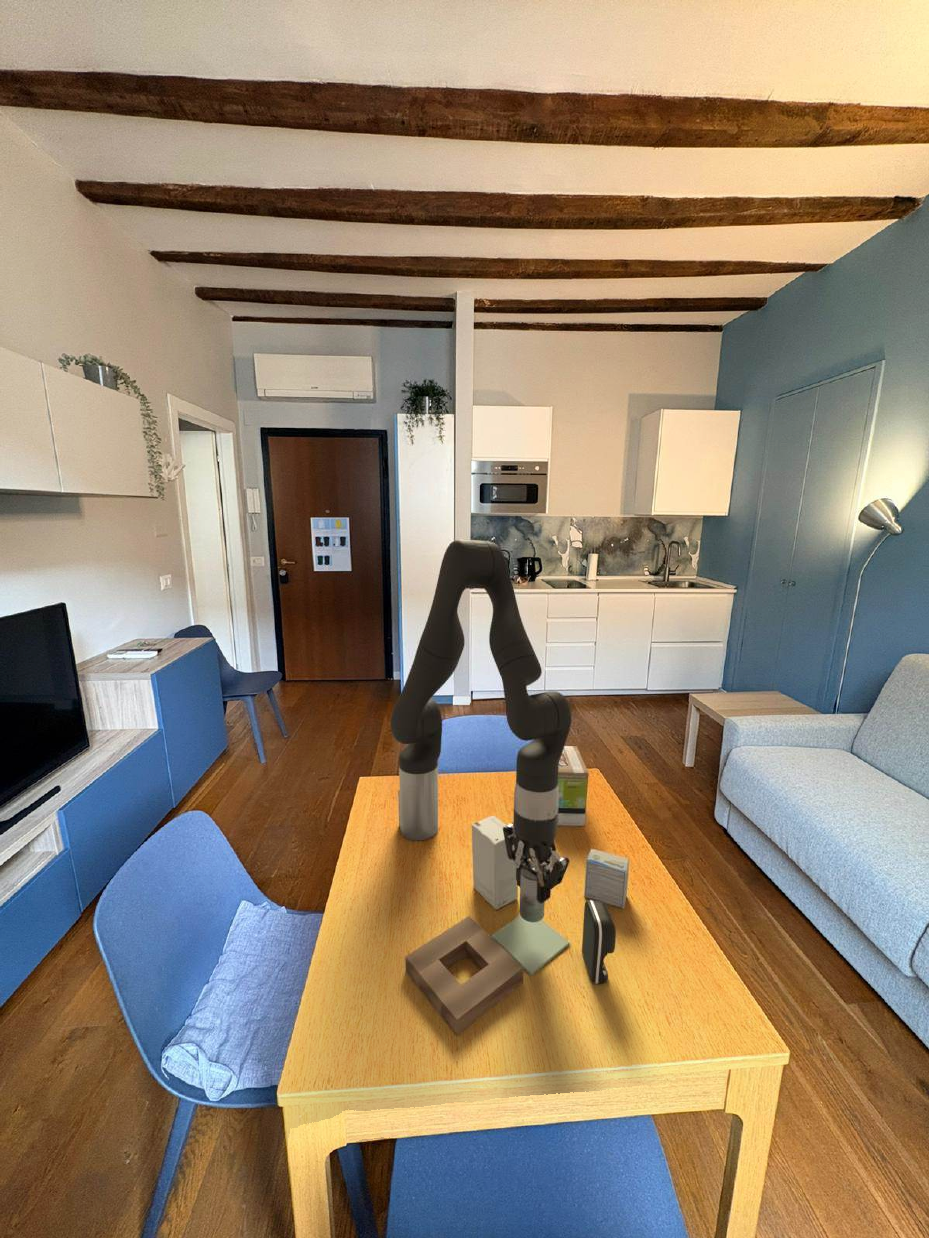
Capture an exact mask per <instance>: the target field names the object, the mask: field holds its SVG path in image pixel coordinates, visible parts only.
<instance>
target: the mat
mask: <svg viewBox="0 0 929 1238" xmlns="http://www.w3.org/2000/svg"><path fill="white" fill-rule="evenodd" d="M490 936H491V937H492V938H493V939H494V940H495V941H496V942H497V943H498V944H499V945H500V946H501V947H502V948H504V949H505V950H506V951H507V952H508V953H509V954H510V955H511V956H512V957H513V958H514V959H515V960H516V961H517V962H518V963H519V964H520V965H521V966H522V967H523V970H524V971H525V972H527V974H529V975H530V976H533V975H534V974H535V973H536V972H538V971H539V970H540V969H541V968H543V967H544V966H545V965H546V964H547V963H549V962H550V961H551V960H552V959H554V958H555V957H556V956H558V955H559V954H560V953H561V952H562V951H564V950H565V949H566V948H567V947H568V946H570V943H571V942H570V941H569V940H568V939H566V938H565V937H564V936H563V935H561V934H560V933H559V932H558V931H557V930H555V929H554V928H553V927H551V926H550V925H549V924H548V923H546V922H545V921H544V920H543V919H542V920H540V921H538V922H528V921H526V920H524V919H523V918H522V917H521V916H520V915H518V916H517V917H516V918H514V919H513V920H512V921H510V922H509V923H506V925H504V926H503V927H501V928H500V929H498V930H497V931H496V932H494V933H493V934H490Z"/></svg>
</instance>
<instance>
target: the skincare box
mask: <svg viewBox="0 0 929 1238" xmlns="http://www.w3.org/2000/svg"><path fill="white" fill-rule="evenodd" d="M507 825H508V824H506V823H504V822H503V821H502V820H500V819H499V818H498V817H496V816H495V815H490V816H488V817H485V818H483V819H481V820H479V821H477V822H474V823H472V824H471V842H472V843H471V845H472V878H473V879H472V881H473V883H472V884H473V886H472V887H473V888H474V889H475V890H476V891H477V892H478V893H479V894H480V895H481V896H482V897H483V898H484V899H485V900H486V901H487V903H489V904H490V905H491V906H492V907H493V909H494V910H499V909H500V908H502V907H504V906H506V905H508V904H511V903H512V902H514V901H516V900H518V897H519V886H518V885H517V881H516V867H515V864H514V861H513V859H512V860H510V859H509V858H508V855H507V850H506V844H505V839H504V833H503V827H505V826H507ZM512 849H513V850H515V848H514V845H513V846H512Z"/></svg>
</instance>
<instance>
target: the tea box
mask: <svg viewBox="0 0 929 1238" xmlns="http://www.w3.org/2000/svg"><path fill="white" fill-rule="evenodd" d="M588 785H589V770H588V768H587V766H586V764H585V761H584V760H583V757H582V755H581V753H580V751H579V748H578V746H575V745H574V746H573V745H565V746H564V749H563V752H562V755H561V757H560V760H559V770H558V793H559V802H558V822H557V826H565V827H566V826H568V827H570V826H571V827H573V826H575V827H578V826H580V827H584V826H585V824H586V812H587V811H586V810H587V798H588V787H589V786H588Z"/></svg>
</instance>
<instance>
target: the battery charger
mask: <svg viewBox="0 0 929 1238" xmlns="http://www.w3.org/2000/svg"><path fill="white" fill-rule="evenodd" d="M582 924H583V927H582V943H581V954H582V956H583V960H584V963H585V967H586V970H587V973H588V976H589V979H590V983H592V984H596V985H597V984H602V983H606V982H608V980H609V973H608V970H607V967H606V964H605V962H604V960H605V958H606V957H607V956H608V954H614V952H615V949H616V937H617V933H616V931H617V929H616V925H615V922H614V919H613V917H612V914H611V912H610V910H609V907H608V904H606V903H605V902H603V901H596V900H593V899H589V900H586V901H585V903H584V911H583V923H582Z"/></svg>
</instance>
